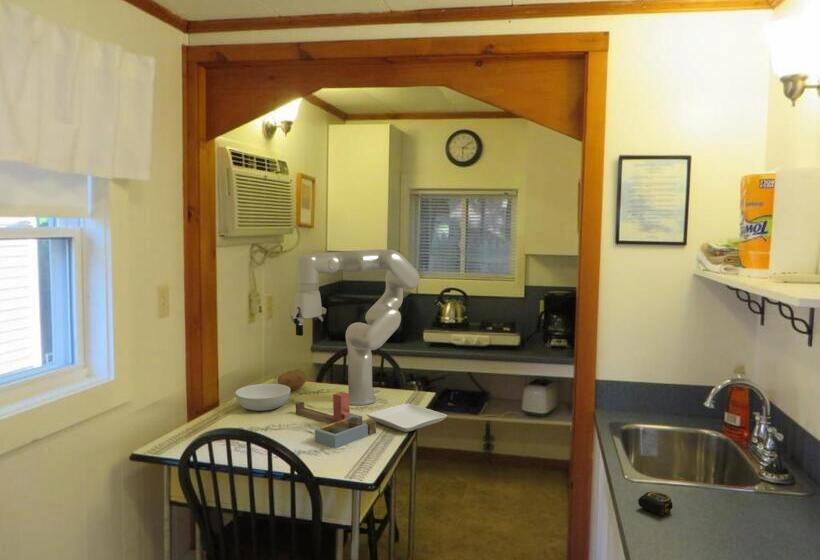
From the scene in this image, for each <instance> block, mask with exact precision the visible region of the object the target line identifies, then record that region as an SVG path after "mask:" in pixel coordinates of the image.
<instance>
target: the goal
mask: <svg viewBox="0 0 820 560" xmlns="http://www.w3.org/2000/svg"><path fill="white" fill-rule="evenodd" d="M368 436H369V435H368V424H367V423H362V425H359V426H356V427H354V428H351V429H348V430H345V431H342V432H339V433H337V434H334V433H330V432H327V431H324V430H320V428H317V429H314V442H315V443H317V444H321V445H324V446H327V447H329V448H333V449H338V448H340V447H343V446H345V445H349V444H351V443H354V442H356V441H358V440H362V439H364V438H366V437H368Z"/></svg>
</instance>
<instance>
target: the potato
mask: <svg viewBox="0 0 820 560" xmlns="http://www.w3.org/2000/svg"><path fill="white" fill-rule="evenodd" d="M306 381H307V375H306V372H305V371H304V370H302V369H299V368H298V369H293V370H288V371H285V372H283V373H281V374H280V375H279V376H278V377H277V384H281V385H285V386H288V387H289V388H290V389H291V391H294V390H297V389H299V388H301V387H302V386H304V384H305V383H306Z"/></svg>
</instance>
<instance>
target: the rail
mask: <svg viewBox="0 0 820 560" xmlns="http://www.w3.org/2000/svg"><path fill="white" fill-rule="evenodd" d="M295 415H299V416H301V417H306V418H309V419H312V420H316V421H319V422H323V423H326V424H328V425H329V424H332V423H335V422H338V420H335V419H333V414H330V413H329V414H328V413H326V412H323V411H318V410H316V409H315V410H314V409H310V408H308V407H305V402H304V401H299V402H296V403H295ZM362 424H363V422H362V423H361V424H358V425H356V424H353V423H349V429H351V428H354V427H356V426H359V425H362ZM366 424H368V436H372V435H375V434H376V433H377V422H376V421H374V420H370V421H368V422H366Z"/></svg>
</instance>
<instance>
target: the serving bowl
mask: <svg viewBox="0 0 820 560" xmlns="http://www.w3.org/2000/svg"><path fill="white" fill-rule="evenodd" d="M291 391H292V390H291V389H290V388H289V387H288V386H285V385H281V384H278V383H258V384H251V385H246V386H245V385H244V386H243V387H239V388H238V389H237V390H236V391H235V393H234V394H235V398H236V401H237V403H238V404H239V405H240V406H241V407H243V408H245V409H246V410H249V411H250V410H251V411H258V412H263V411H264V412H266V411H270V410H271V411H272V410H275V409H278V408H280V407H282V406H284V405H285V404H286V403H287V402H288V400H289V399H290V396H291Z"/></svg>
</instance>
